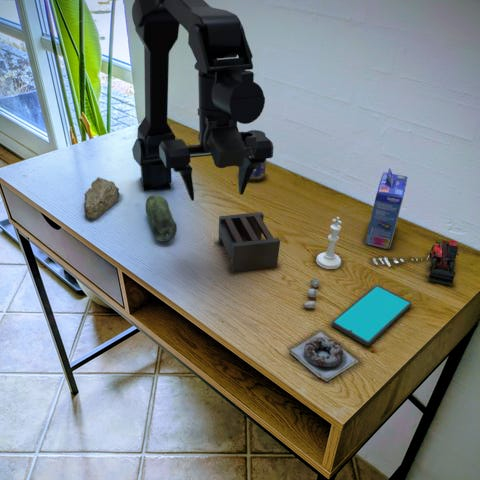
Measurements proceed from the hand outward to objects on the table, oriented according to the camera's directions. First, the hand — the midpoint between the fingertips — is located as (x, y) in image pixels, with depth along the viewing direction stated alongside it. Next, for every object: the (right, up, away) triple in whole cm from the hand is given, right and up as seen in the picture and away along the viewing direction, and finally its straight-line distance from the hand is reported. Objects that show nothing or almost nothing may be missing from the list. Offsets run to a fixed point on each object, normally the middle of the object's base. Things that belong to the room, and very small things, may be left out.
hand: (216, 196), depth 89 cm
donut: (+18, -28, -10) cm, 35 cm away
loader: (+44, -12, +10) cm, 47 cm away
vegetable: (-15, -2, +13) cm, 20 cm away
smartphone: (+27, -22, -2) cm, 35 cm away
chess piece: (+22, -11, +10) cm, 26 cm away
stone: (-28, +7, +18) cm, 34 cm away
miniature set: (+37, -11, +12) cm, 40 cm away
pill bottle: (+7, +14, +36) cm, 40 cm away
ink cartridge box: (+34, -4, +18) cm, 39 cm away
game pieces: (+18, -17, 0) cm, 25 cm away
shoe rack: (+6, -9, +10) cm, 15 cm away
